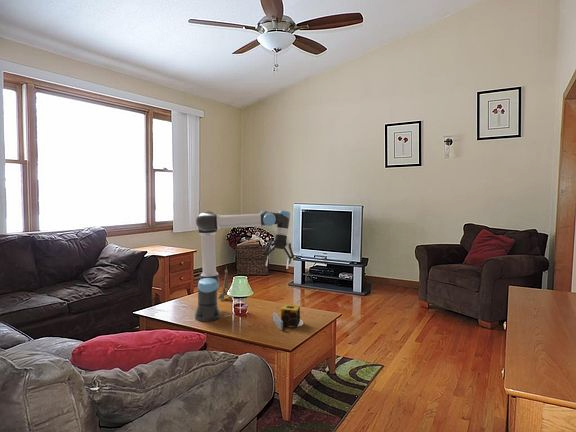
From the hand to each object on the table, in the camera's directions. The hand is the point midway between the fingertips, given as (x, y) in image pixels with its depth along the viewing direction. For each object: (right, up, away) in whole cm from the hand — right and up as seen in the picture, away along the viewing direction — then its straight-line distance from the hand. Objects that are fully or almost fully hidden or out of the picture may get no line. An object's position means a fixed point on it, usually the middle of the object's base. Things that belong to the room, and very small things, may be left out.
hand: (276, 267), depth 257 cm
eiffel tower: (-37, -27, +30) cm, 55 cm away
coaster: (+10, -31, -17) cm, 37 cm away
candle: (+9, -31, -20) cm, 38 cm away
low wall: (+1, -31, -21) cm, 38 cm away
